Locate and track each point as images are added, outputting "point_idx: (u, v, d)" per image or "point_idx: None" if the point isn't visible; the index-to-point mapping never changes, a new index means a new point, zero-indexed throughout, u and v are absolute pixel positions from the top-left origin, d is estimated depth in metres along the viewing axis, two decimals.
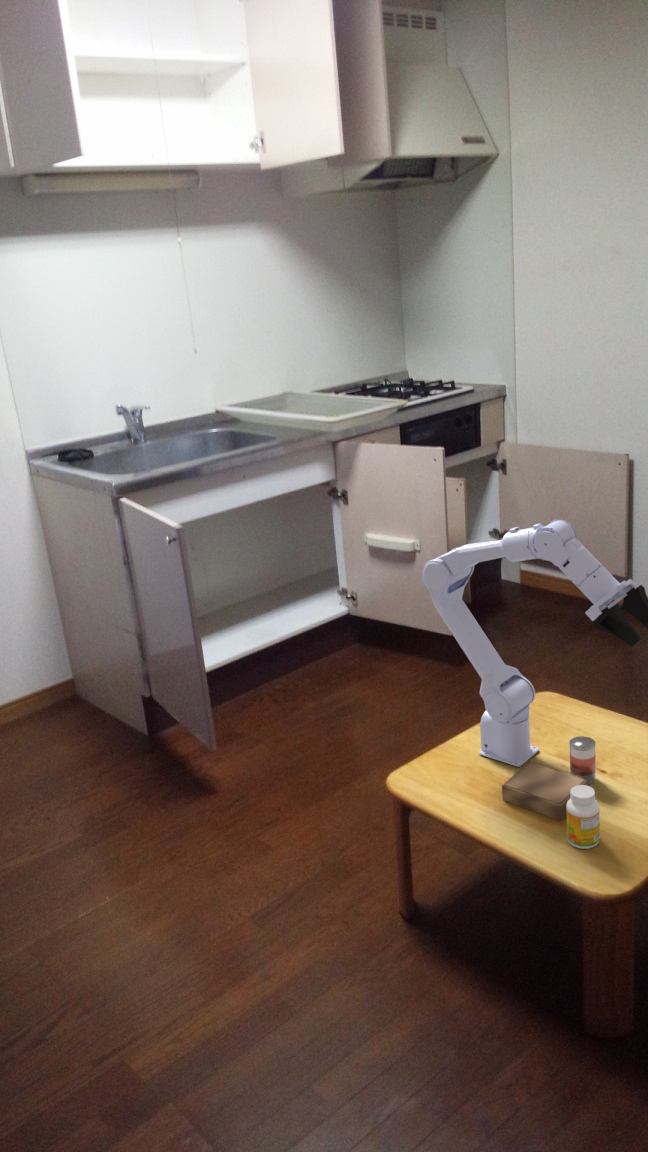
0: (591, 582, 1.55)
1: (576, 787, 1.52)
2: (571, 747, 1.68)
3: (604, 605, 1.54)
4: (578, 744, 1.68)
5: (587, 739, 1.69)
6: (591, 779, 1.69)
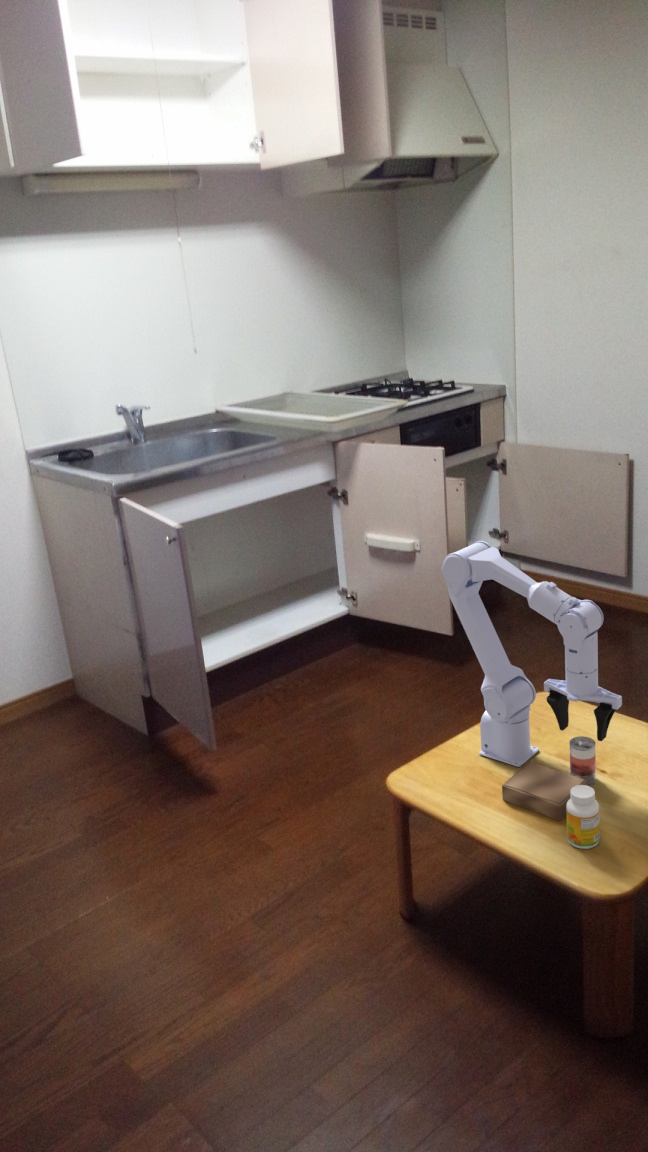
0: (565, 671, 1.65)
1: (576, 787, 1.52)
2: (571, 747, 1.68)
3: None
4: (578, 744, 1.68)
5: (587, 739, 1.69)
6: (591, 779, 1.69)
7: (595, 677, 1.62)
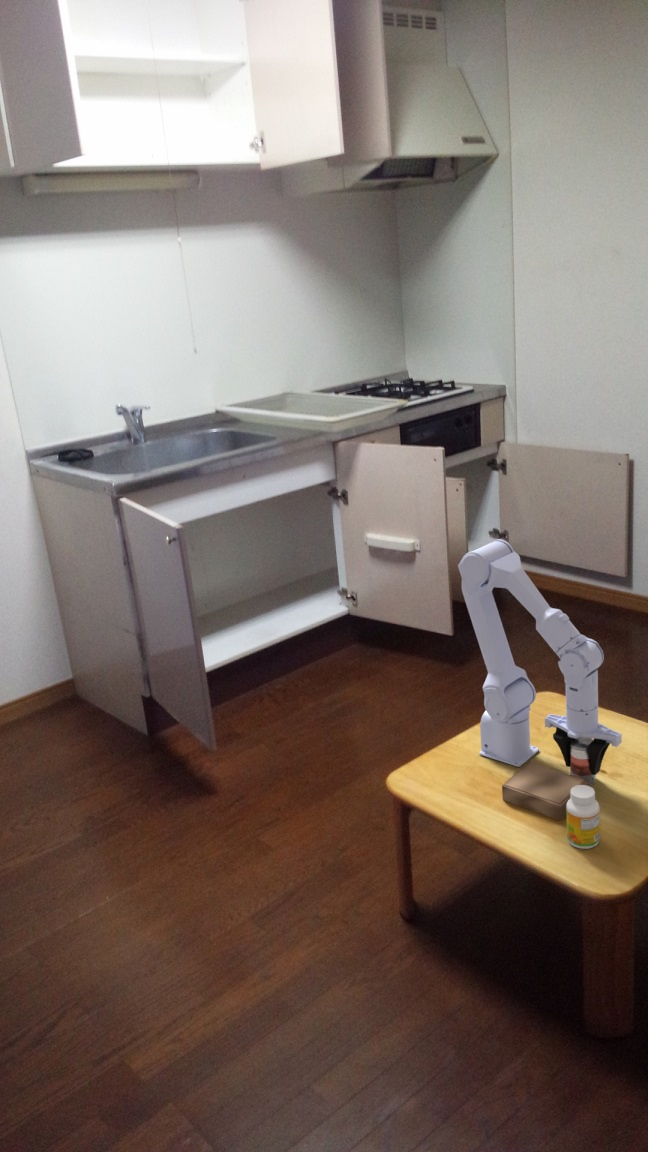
0: None
1: (576, 787, 1.52)
2: (571, 747, 1.68)
3: None
4: (578, 744, 1.68)
5: (587, 739, 1.69)
6: (591, 779, 1.69)
7: (595, 714, 1.64)
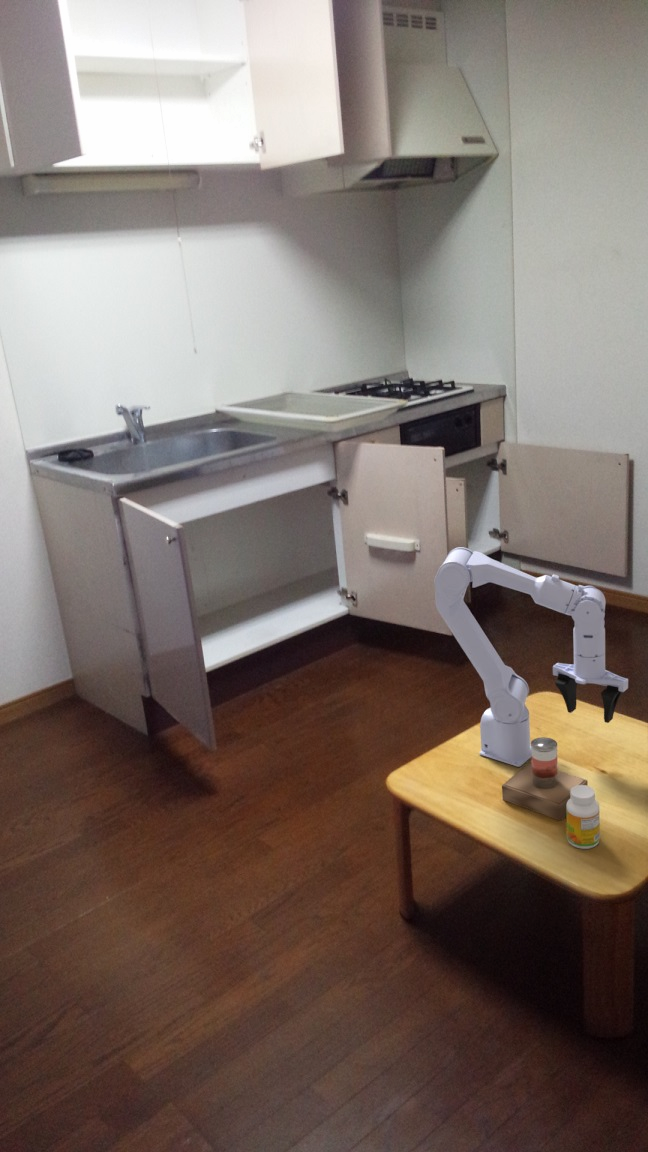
0: None
1: (576, 787, 1.52)
2: (532, 748, 1.63)
3: None
4: (539, 745, 1.63)
5: (549, 740, 1.64)
6: (552, 781, 1.64)
7: (602, 661, 1.68)
